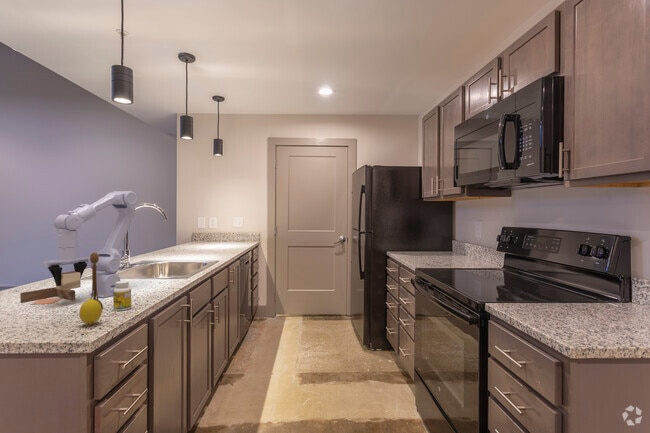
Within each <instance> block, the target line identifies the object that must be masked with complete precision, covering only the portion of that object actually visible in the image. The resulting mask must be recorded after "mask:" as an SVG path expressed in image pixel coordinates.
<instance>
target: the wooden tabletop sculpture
mask: <svg viewBox="0 0 650 433" xmlns="http://www.w3.org/2000/svg"><path fill="white" fill-rule="evenodd" d="M89 257H90V261H91V263H93V266H92V269H91V270H92V271H91V274H92V275H91V276H92V278H91V279H92V280H91V282H92V283H91V284H92V285H91V293H92V295H90V296H91V298H90V299H93V300H96V301H98V302H99V303H100V305H101V308H102V310H103V309H104V306H103V303H102V302H101V300H99V297H98V294H97V278H96V267H97V266H96V263H97V262H98V260H99V256H98V254H97V252H92V253H91V254H90V256H89Z"/></svg>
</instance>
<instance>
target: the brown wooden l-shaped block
mask: <svg viewBox="0 0 650 433" xmlns="http://www.w3.org/2000/svg"><path fill="white" fill-rule="evenodd" d="M54 297H55V298H56V297H57V298H62V299H64V300H65V299H66V300H68V301H75V300H76V290H74V289H69V290H59V289H56V286H53V287H48V288H42V289H36V290H31V291H30V290H29V291H24V292H20V300H19V301H20V303H21V304H25V303H28V302H35V301H38V300H40V299H51V298H54Z"/></svg>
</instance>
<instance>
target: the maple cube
mask: <svg viewBox="0 0 650 433" xmlns="http://www.w3.org/2000/svg"><path fill="white" fill-rule="evenodd" d="M55 287H56V289H59V290H69V289H71V290H74V289H79V288H81V287H82V286H81V280H80V272H75V270H71V271H70V270H69V271H66V272H61V286H56V285H55Z"/></svg>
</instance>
